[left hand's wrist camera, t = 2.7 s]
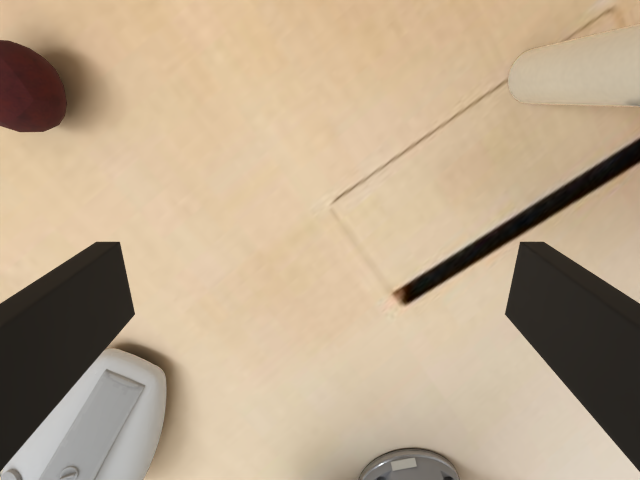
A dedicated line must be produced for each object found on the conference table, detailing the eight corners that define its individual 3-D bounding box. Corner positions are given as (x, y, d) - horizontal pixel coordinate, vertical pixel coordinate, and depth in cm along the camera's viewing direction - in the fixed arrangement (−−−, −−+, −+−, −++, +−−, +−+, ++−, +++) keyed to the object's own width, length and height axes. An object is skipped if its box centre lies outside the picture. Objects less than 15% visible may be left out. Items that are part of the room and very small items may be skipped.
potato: (39, 29, 34) (-28, 12, 28) (100, 103, 36) (52, 104, 30) (-13, 77, 36) (-88, 72, 29) (49, 145, 38) (-8, 155, 31)
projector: (218, 454, 54) (183, 576, 40) (79, 487, 56) (2, 612, 42) (148, 332, 46) (76, 430, 32) (-9, 376, 49) (-137, 485, 35)
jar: (496, 81, 36) (668, 65, 18) (536, 35, 34) (764, -30, 17) (531, 114, 37) (724, 129, 19) (571, 71, 36) (818, 44, 18)
